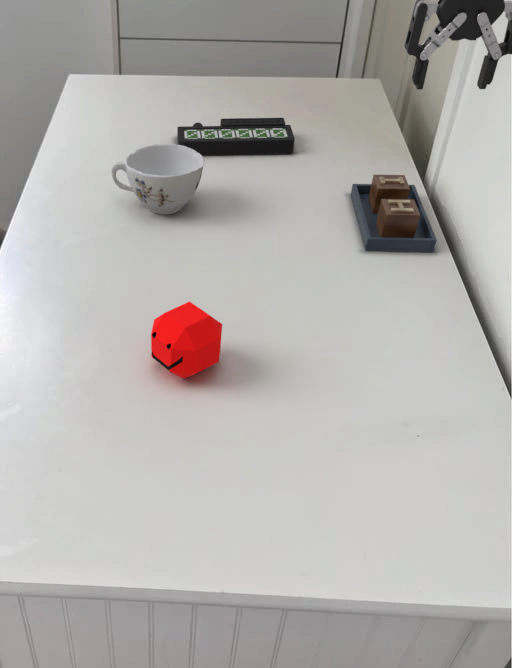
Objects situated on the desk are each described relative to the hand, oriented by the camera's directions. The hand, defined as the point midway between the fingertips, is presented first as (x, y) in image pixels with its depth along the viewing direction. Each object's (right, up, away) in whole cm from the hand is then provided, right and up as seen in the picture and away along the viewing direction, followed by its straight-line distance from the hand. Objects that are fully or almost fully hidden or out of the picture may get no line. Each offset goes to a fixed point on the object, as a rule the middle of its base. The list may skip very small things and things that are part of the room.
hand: (449, 87), depth 100 cm
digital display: (-26, +9, +36) cm, 45 cm away
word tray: (-4, -14, +15) cm, 20 cm away
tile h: (-4, -16, +11) cm, 20 cm away
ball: (-37, -41, -9) cm, 56 cm away
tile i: (-3, -10, +17) cm, 20 cm away
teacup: (-41, -9, +19) cm, 46 cm away
